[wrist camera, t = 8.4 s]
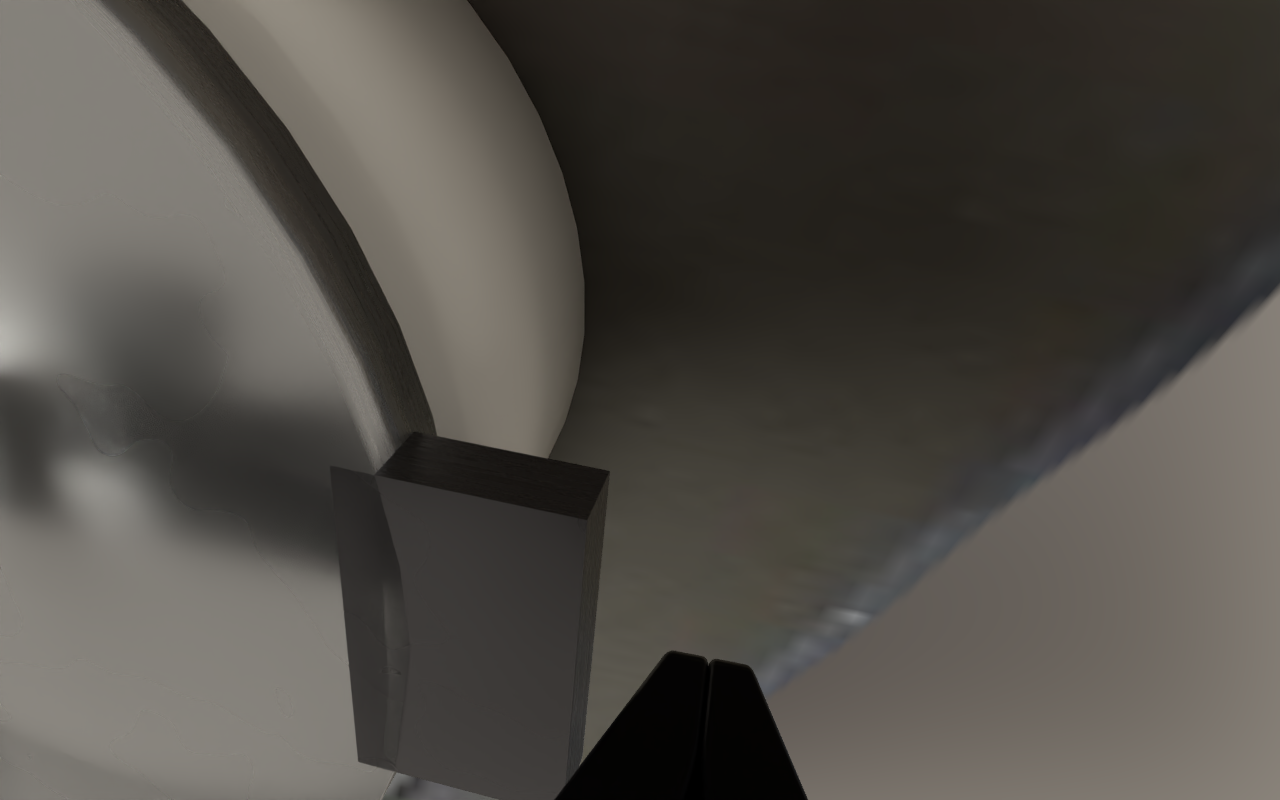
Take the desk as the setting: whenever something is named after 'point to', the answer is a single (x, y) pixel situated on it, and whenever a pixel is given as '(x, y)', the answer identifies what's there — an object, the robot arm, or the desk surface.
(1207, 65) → the desk surface
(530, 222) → the cooker body
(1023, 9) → the desk surface
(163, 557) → the cooker lid
